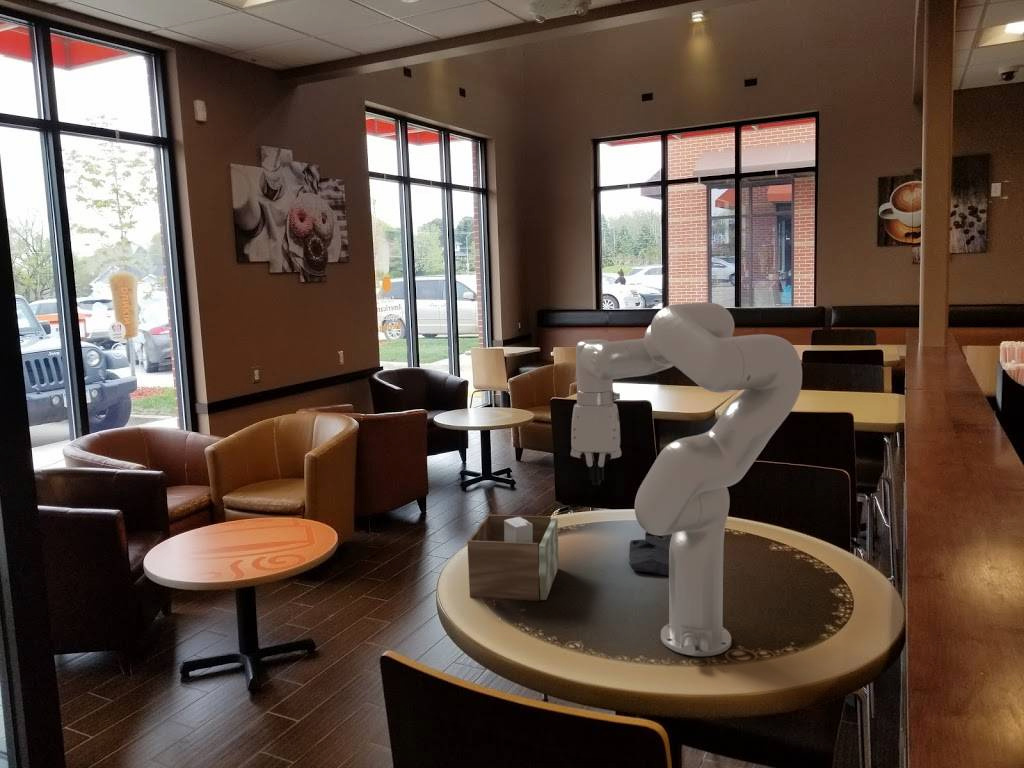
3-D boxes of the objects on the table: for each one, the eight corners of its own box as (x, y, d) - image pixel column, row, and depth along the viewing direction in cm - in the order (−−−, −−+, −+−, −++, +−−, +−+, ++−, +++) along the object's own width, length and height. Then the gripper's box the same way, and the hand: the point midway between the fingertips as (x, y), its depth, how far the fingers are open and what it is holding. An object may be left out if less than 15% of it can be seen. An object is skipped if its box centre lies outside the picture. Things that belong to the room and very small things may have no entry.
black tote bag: (619, 575, 172) (619, 555, 171) (632, 542, 193) (631, 523, 192) (688, 581, 168) (688, 560, 167) (693, 546, 188) (694, 528, 188)
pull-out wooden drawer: (546, 599, 159) (544, 546, 157) (476, 595, 162) (474, 543, 160) (558, 567, 176) (557, 518, 174) (495, 564, 179) (493, 516, 177)
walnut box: (539, 600, 159) (537, 544, 157) (469, 596, 162) (467, 541, 160) (552, 568, 176) (550, 516, 175) (489, 565, 179) (487, 514, 178)
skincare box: (503, 571, 170) (501, 519, 168) (521, 567, 172) (519, 515, 170) (516, 580, 165) (515, 527, 163) (534, 576, 167) (533, 523, 165)
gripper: (631, 395, 161) (632, 479, 164) (562, 395, 164) (564, 478, 167) (629, 401, 154) (630, 489, 157) (556, 401, 157) (559, 487, 160)
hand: (596, 483), depth 162 cm, fingers closed
